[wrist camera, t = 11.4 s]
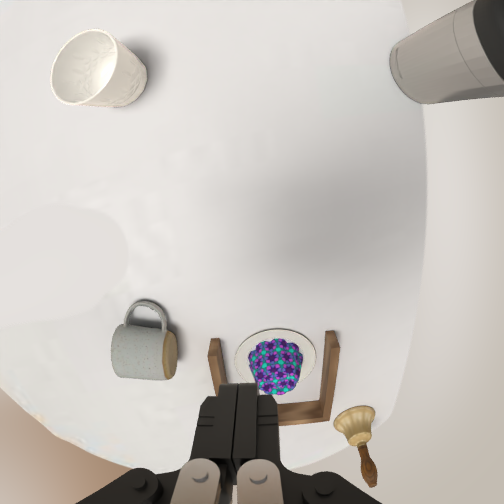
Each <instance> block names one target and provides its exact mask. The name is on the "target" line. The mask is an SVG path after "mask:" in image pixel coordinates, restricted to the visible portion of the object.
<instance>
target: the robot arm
mask: <svg viewBox="0 0 504 504" xmlns="http://www.w3.org/2000/svg"><path fill="white" fill-rule="evenodd" d="M390 67H391V72H392V75H393V77H394V79H395V81H396V83H397V84H398V86H399V87H400V89H401V90H402V91H403V92H404V93H405V94H406V95H407V96H408V97H410V98H411V99H413V100H414V101H416V102H419V103H422V104H435V103H442V102H451V101H459V100H468V99H478V98H490V97H503V96H504V0H474V1H471V2H469V3H468V4H465V5H463V6H462V7H460V8H458V9H456V10H454V11H452V12H450V13H448V14H447V15H445V16H443V17H441V18H439V19H437V20H436V21H434V22H432V23H430V24H428V25H427V26H425V27H423V28H422V29H420V30H418V31H416V32H415V33H413V34H411V35H410V36H408V37H406V38H405V39H403V40H402V41H400V42H398V43H397V44H396V45H395V46H394V47H393V49H392V51H391V55H390ZM233 485H237V501H238V502H237V503H238V504H382V503H380V502H378V501H377V500H375V499H374V498H372V497H371V496H369V495H368V494H366V493H365V492H363V491H361V490H360V489H359V488H357V487H356V486H354V485H353V484H351V483H350V482H348V481H347V480H346V479H344V478H343V477H341V476H340V475H338V474H336V473H333V472H327V471H326V472H319V473H316V474H314V475H312V476H309V475H303V474H298V473H294V472H292V471H290V470H288V469H286V468H285V467H284V466H283V464H282V463H281V461H280V442H279V421H278V408H277V403H276V401H275V399H274V398H273V396H272V395H271V394H270V395H260V394H259V386H258V382H257V383H240V384H238V383H236V384H220V386H219V391H218V396H208V397H207V398H206V399H205V401H204V402H203V403H202V405H201V407H200V412H199V418H198V421H197V427H196V431H195V436H194V441H193V446H192V451H191V456H190V459H189V461H188V462H187V463H186V464H184V465H183V467H182V468H181V469H179V470H177V471H173V472H168V473H162V474H154V473H153V472H152V471H150V470H148V469H145V468H135V469H132V470H130V471H128V472H127V473H125V474H124V475H122V476H121V477H119V478H117V479H116V480H114V481H113V482H111V483H109V484H108V485H106V486H105V487H103V488H101V489H100V490H98V491H97V492H95V493H93V494H92V495H90V496H88V497H86V498H85V499H83V500H81V501H79V502H78V503H76V504H232V491H233Z"/></svg>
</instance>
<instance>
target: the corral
mask: <svg viewBox="0 0 504 504" xmlns="http://www.w3.org/2000/svg"><path fill="white" fill-rule="evenodd" d="M339 353H340V346H339V343H338V340H337V338H336V335H335V333H334V331H326V332H325V346H324V358H323V370H322V380H321V390H320V399H319V401H310V402H300V403H289V404H277V408H278V421H279V426H286V425H297V424H307V423H316V422H324V421H329V420H330V415H331V409H332V403H333V397H334V390H335V383H336V376H337V369H338V361H339ZM207 357H208V361H209V366H210V371H211V376H212V380H213V385H214V389H215V394H216V396H218V391H219V386H220V384H227V380H226V374H225V369H224V363H223V357H222V351H221V345H220V339H219V338H215V339H211V341H210V346H209V351H208V356H207Z"/></svg>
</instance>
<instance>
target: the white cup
mask: <svg viewBox="0 0 504 504" xmlns="http://www.w3.org/2000/svg"><path fill="white" fill-rule="evenodd" d="M146 82H147V71H146V67H145V66H144V64H143V63H142V62H141V61H140V59H138V58H137V57H136V55H135V54H133V53H132V52H131V51H130V50H129V49H128V48H127V47H126V46H124V45H123V44H122V43H121V42H119V41H118V40H117V39H116V38H114V37H113V36H112V35H111V34H109V33H108V32H106V31H104V30H101V29H90V30H86V31H83V32H81V33H79V34H77V35H75V36H74V37H72V38H71V39H70V40H69V41H68V42H67V43H66V44H65V45H64V46H63V47H62V48H61V50H60V51H59V53H58V54H57V56H56V58H55V60H54V63H53V65H52V69H51V75H50V83H51V88H52V91H53V93H54V95H55V97H56V98H57V99H58V100H59V101H61V102H62V103H64V104H68V105H81V106H94V107H122V106H126V105H128V104H130V103H132V102H133V101H135V100H136V99H137V98H138V97H139V96H140V94H141V93H142V92H143V91H144V88H145V85H146Z"/></svg>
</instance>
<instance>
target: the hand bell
mask: <svg viewBox="0 0 504 504" xmlns="http://www.w3.org/2000/svg"><path fill="white" fill-rule="evenodd" d="M374 417H375V411H374V409H373V408H371V407H368V406H357V407H353V408H350V409H348V410H346V411H344V412H342V413H341V414H339V415H338V416H337V418H336V419H335V421H334V427H335V429H336V430H337V431H339V432H341V433H343V434H344V435H345V436H346V438H347V441H348V443H349V444H350V445H351V446H357V448H358V451H359V453H360V457H361V473H362V476H363V479H364V480H365V482H366V483H367V484H368V486H369V487H371V488H372V487H375V486H376V485H377V469H376V466H375V464H374V462H373V461H372V459H371V458H370V456H369V453H368V449H367V445H366V443H367V442H368V441H369V440H370V439H371V436H372V435H371V423H372V421H373V420H374Z"/></svg>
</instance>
